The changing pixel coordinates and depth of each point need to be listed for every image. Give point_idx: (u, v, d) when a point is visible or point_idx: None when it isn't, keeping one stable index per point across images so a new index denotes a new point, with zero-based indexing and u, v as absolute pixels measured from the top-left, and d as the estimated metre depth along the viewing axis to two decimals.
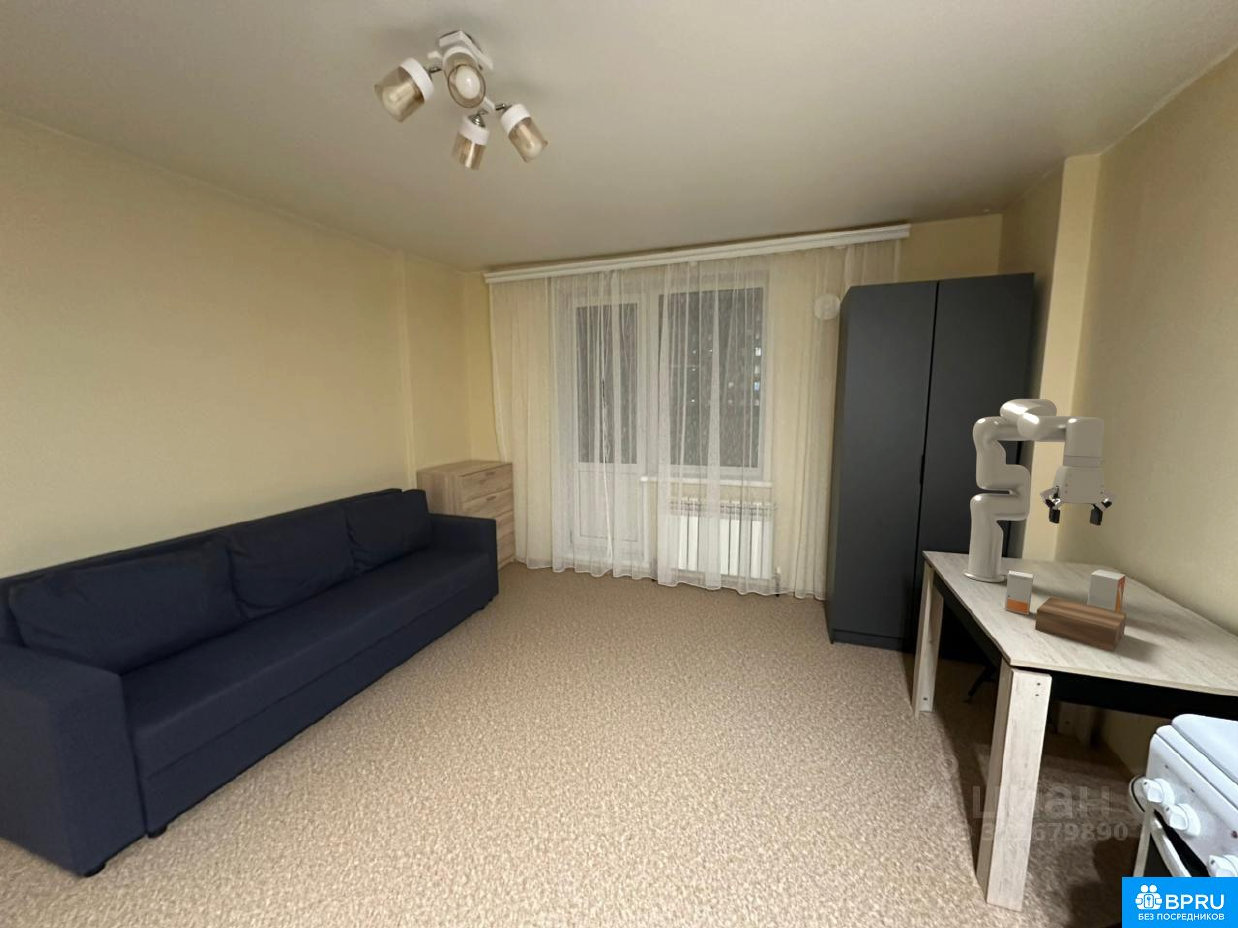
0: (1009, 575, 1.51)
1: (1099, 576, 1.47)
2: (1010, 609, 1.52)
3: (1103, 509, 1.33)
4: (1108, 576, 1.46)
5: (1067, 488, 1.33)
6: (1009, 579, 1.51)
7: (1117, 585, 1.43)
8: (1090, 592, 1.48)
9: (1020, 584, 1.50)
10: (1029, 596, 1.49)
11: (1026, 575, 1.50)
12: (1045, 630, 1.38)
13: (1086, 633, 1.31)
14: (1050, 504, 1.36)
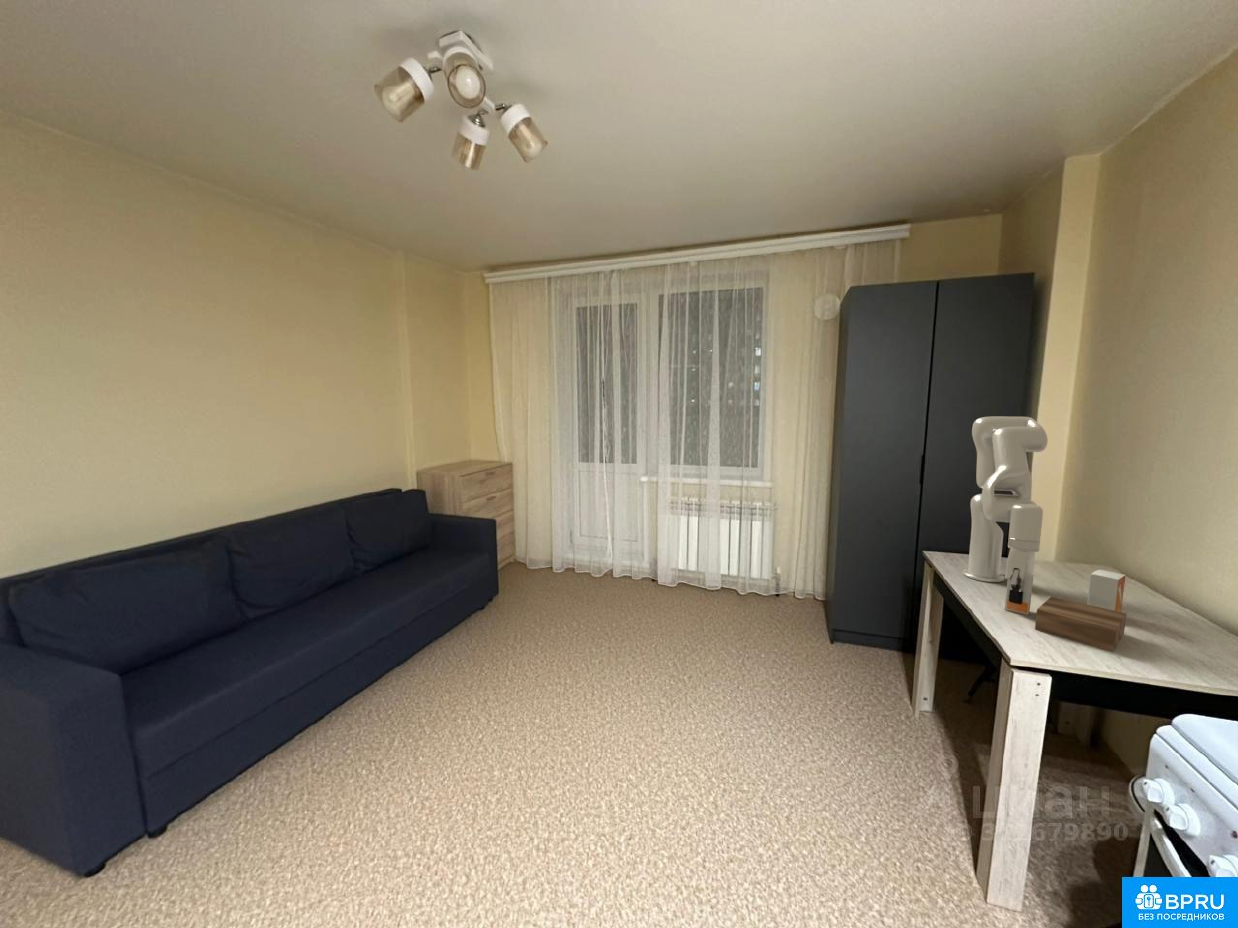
0: None
1: (1099, 576, 1.47)
2: (1010, 609, 1.52)
3: None
4: (1108, 576, 1.46)
5: (1026, 570, 1.47)
6: (1009, 579, 1.51)
7: (1117, 585, 1.43)
8: (1090, 592, 1.48)
9: None
10: (1029, 596, 1.48)
11: None
12: (1045, 630, 1.38)
13: (1086, 633, 1.31)
14: (1018, 588, 1.48)
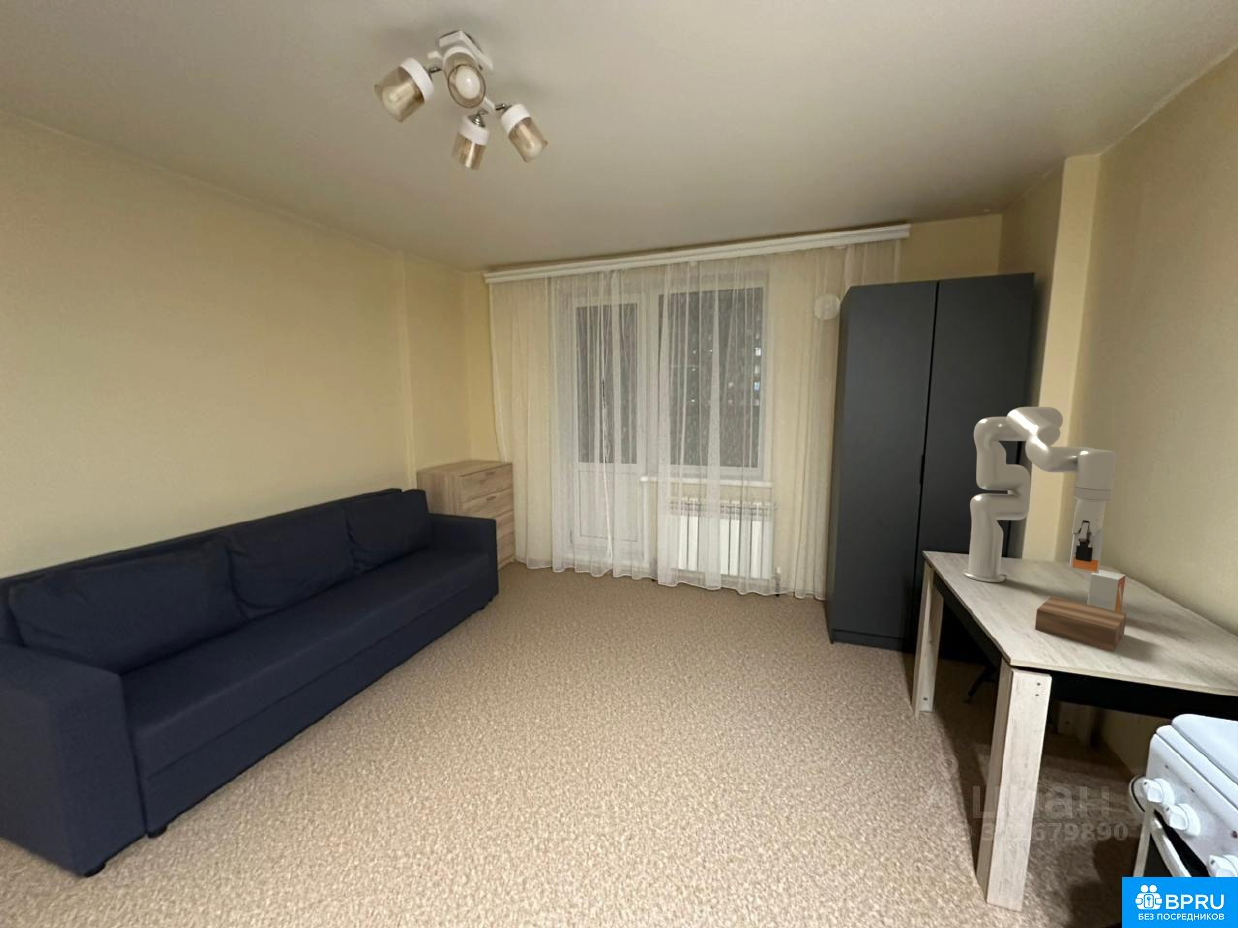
0: None
1: (1099, 576, 1.47)
2: (1077, 568, 1.36)
3: None
4: (1108, 576, 1.46)
5: (1098, 523, 1.31)
6: (1076, 534, 1.35)
7: (1117, 585, 1.43)
8: (1090, 592, 1.48)
9: None
10: (1100, 552, 1.32)
11: None
12: (1045, 630, 1.38)
13: (1086, 633, 1.31)
14: (1087, 543, 1.32)
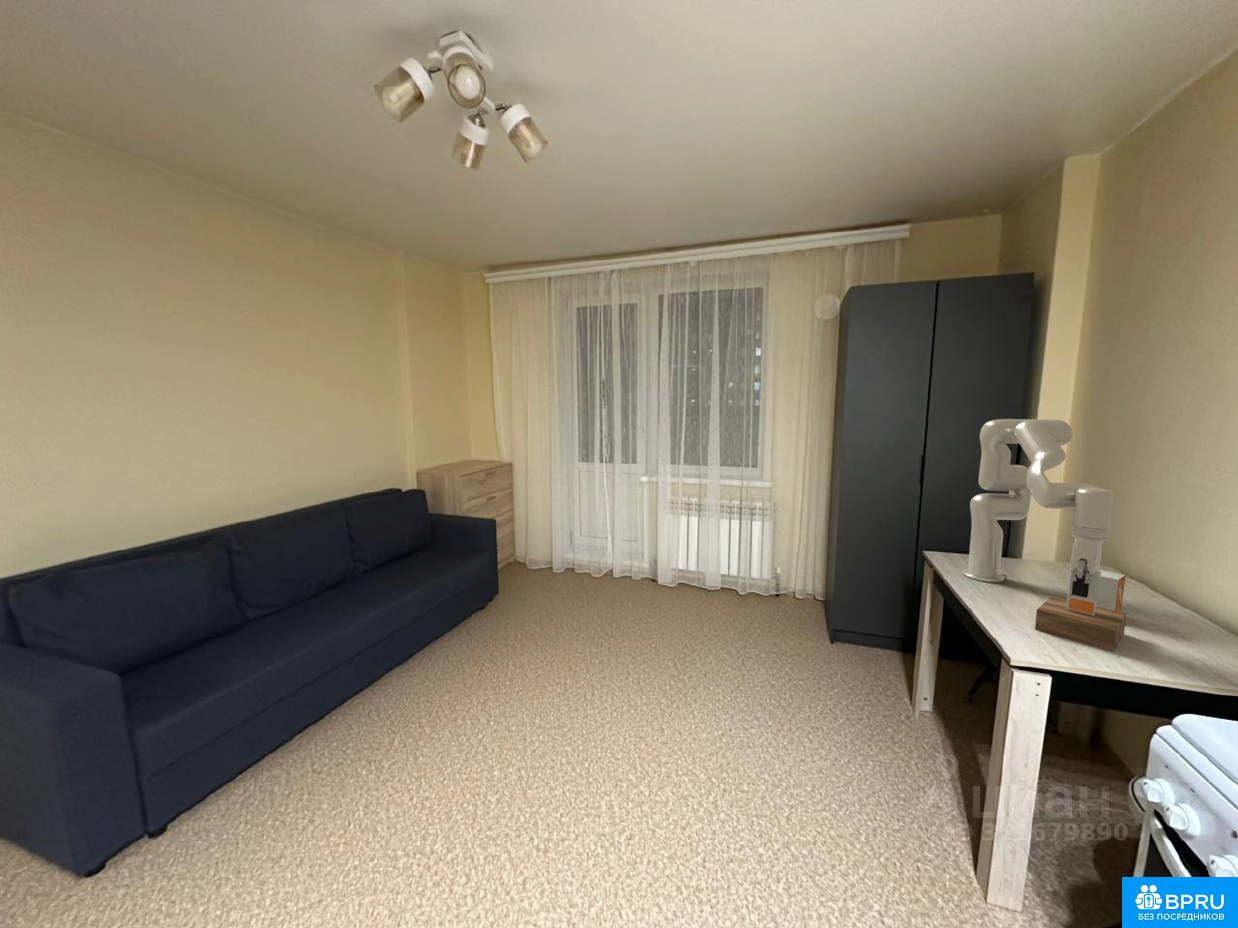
0: None
1: None
2: (1073, 609, 1.37)
3: None
4: (1108, 576, 1.46)
5: (1095, 561, 1.32)
6: (1072, 576, 1.37)
7: (1117, 585, 1.43)
8: None
9: None
10: (1095, 595, 1.34)
11: None
12: (1045, 630, 1.38)
13: (1086, 633, 1.31)
14: (1084, 579, 1.32)
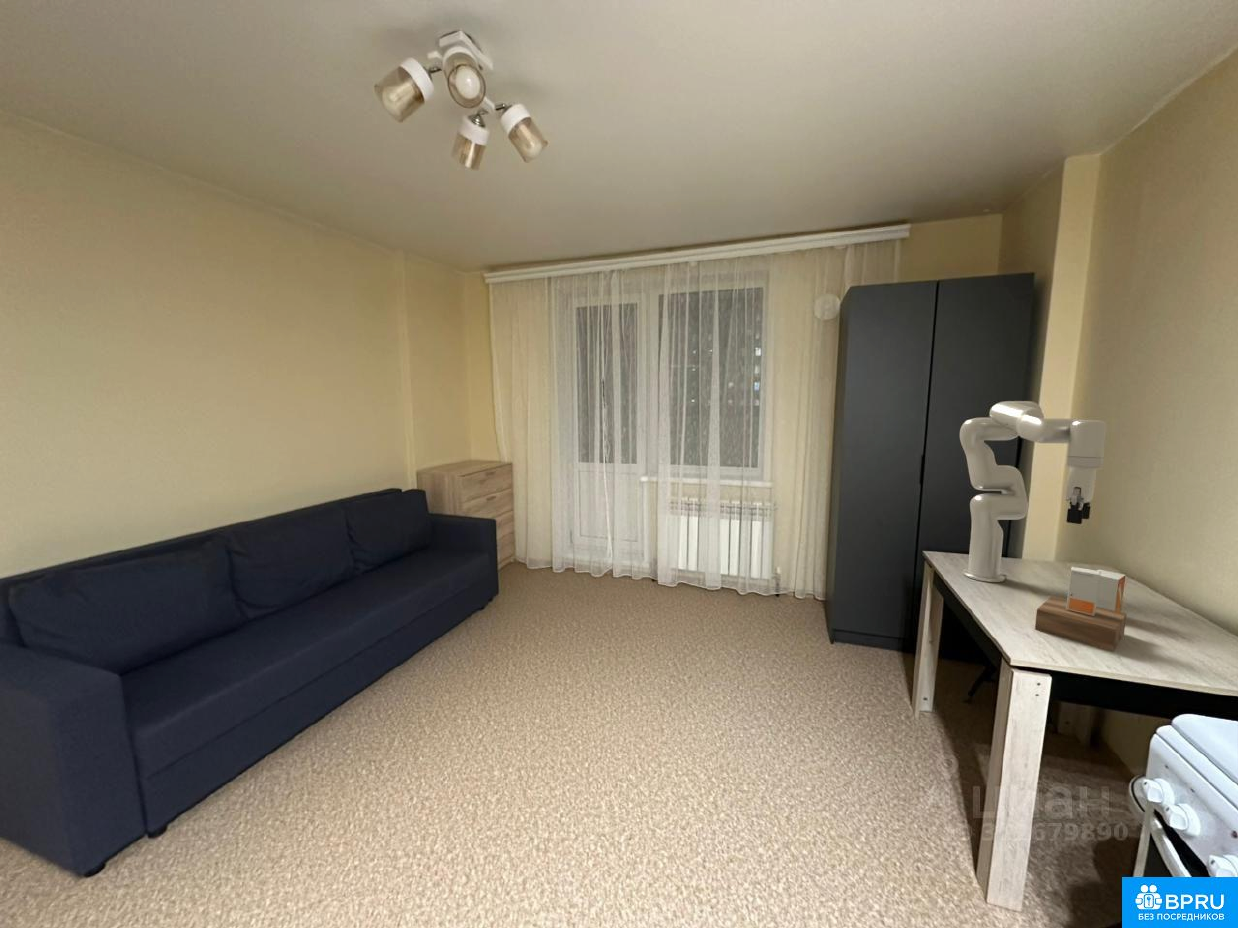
0: (1072, 571, 1.37)
1: None
2: (1073, 609, 1.37)
3: None
4: (1108, 576, 1.46)
5: (1089, 489, 1.37)
6: (1072, 576, 1.37)
7: (1117, 585, 1.43)
8: None
9: (1085, 582, 1.35)
10: (1095, 595, 1.34)
11: (1092, 572, 1.35)
12: (1045, 630, 1.38)
13: (1086, 633, 1.31)
14: (1078, 506, 1.37)
